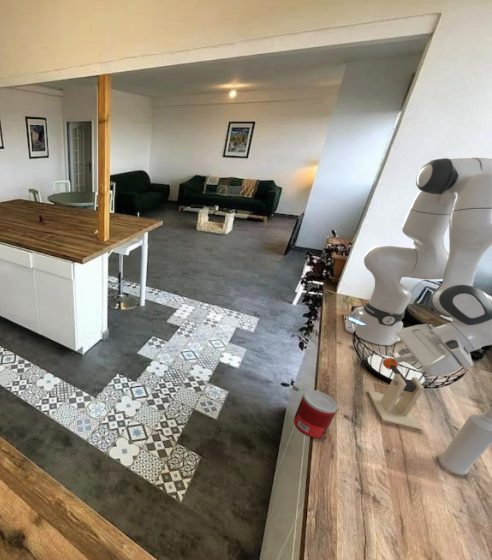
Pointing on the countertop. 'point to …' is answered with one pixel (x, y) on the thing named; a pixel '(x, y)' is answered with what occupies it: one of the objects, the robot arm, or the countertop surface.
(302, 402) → the canned food
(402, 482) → the countertop surface
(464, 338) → the robot arm
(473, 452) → the bottle
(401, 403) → the switch base
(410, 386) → the switch lever
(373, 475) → the countertop surface
